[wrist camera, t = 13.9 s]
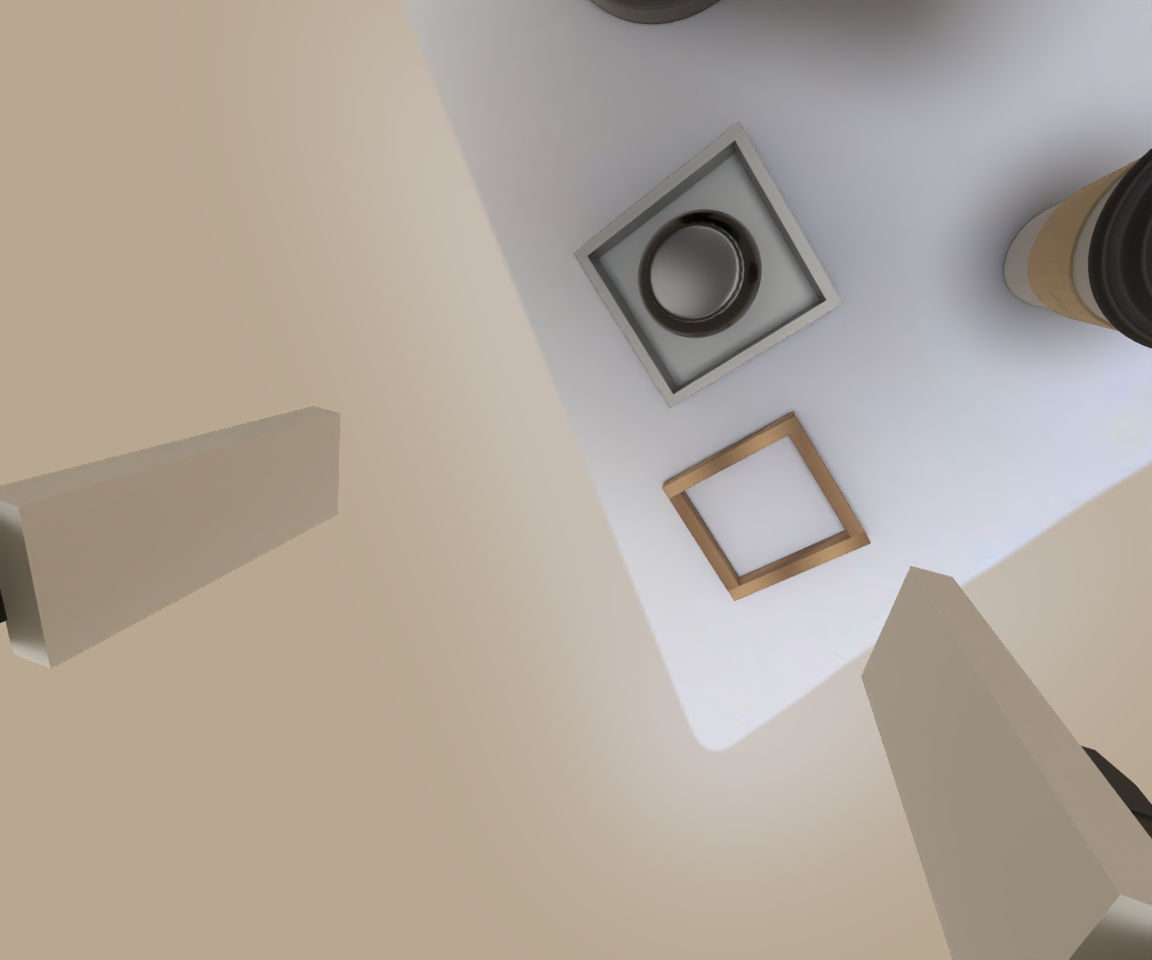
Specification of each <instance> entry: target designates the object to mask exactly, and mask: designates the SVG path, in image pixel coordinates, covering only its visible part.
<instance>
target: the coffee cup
mask: <svg viewBox="0 0 1152 960" xmlns="http://www.w3.org/2000/svg"><path fill="white" fill-rule="evenodd" d="M1004 278H1005V282H1006V284H1007V286H1008V288H1009V290H1010V291H1011V292H1012V293H1013V294H1014V295H1015V296H1016V297H1018V298H1019V299H1021V300H1023V301H1024V302H1026V303H1029V304H1032V305H1035V306H1038V307H1042V308H1046V309H1050V310H1052V311H1054V312H1056V313H1058V314H1060V315H1063V316H1066V317H1069V318H1072V319H1076V320H1079V321H1083V322H1087V323H1091V324H1094V325H1098V326H1102V327H1106V328H1109V329H1113V330H1117V331H1120V332H1121V333H1122V334H1124V335H1125V336H1127V337H1128V338H1130V339H1132V340H1133V341H1135V342H1137V343H1139V344H1141V345H1144V346H1146V347H1149V348H1152V149H1150V150H1149V151H1148V152H1147V153H1146V154H1145V155H1144V156H1143V157H1142V158H1140V159H1138V160H1136V161H1134V162H1132V163H1130V164H1128V165H1126V166H1125V167H1123V168H1121V169H1119V170H1117V171H1115V172H1113V173H1111V174H1109V175H1107V176H1105V177H1103V178H1101V179H1099V180H1097V181H1095V182H1094V183H1092V184H1090V185H1088V186H1086V187H1084V188H1083V189H1081V190H1079V191H1078V192H1076V193H1074V194H1073V195H1071V196H1070V197H1069V198H1068V199H1066V200H1065V201H1063V202H1061V203H1059V204H1057V205H1055V206H1053V207H1051V208H1049V209H1047V210H1045V211H1044V212H1042V213H1040V214H1039V215H1037V216H1036V217H1034V218H1033V219H1032V220H1031V221H1029V222H1028V223H1027V224H1026V225H1025V226H1024V227H1023V228H1022V229H1021V231H1020V232H1019V233H1018V234H1017V235H1016V237H1015V239H1014V240H1013V242H1012V244H1011V245H1010V248H1009V250H1008V252H1007V255H1006V259H1005V263H1004Z"/></svg>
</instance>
